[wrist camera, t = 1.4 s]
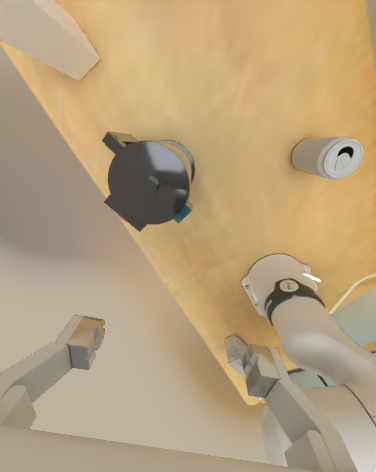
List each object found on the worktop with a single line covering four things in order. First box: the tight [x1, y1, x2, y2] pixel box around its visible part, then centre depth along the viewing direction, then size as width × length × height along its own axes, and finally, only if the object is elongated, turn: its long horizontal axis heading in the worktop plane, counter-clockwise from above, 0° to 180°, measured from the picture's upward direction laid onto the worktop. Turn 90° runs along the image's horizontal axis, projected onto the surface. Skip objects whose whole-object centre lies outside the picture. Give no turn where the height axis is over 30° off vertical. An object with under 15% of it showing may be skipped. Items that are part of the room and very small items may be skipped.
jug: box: [102, 132, 195, 232], centre depth 34 cm, size 13×16×20 cm
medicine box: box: [225, 334, 248, 375], centre depth 64 cm, size 8×4×9 cm, turn 43°
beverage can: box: [292, 137, 364, 179], centre depth 35 cm, size 6×6×12 cm
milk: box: [0, 0, 100, 81], centre depth 25 cm, size 6×6×22 cm
